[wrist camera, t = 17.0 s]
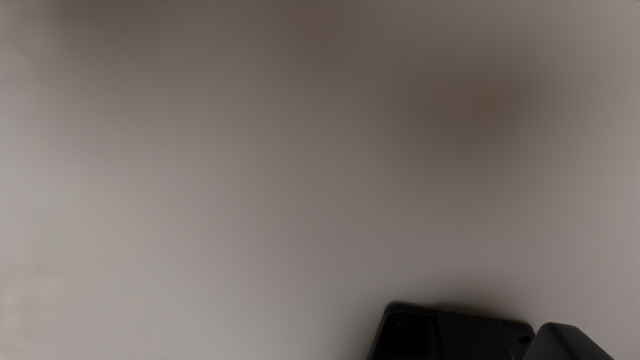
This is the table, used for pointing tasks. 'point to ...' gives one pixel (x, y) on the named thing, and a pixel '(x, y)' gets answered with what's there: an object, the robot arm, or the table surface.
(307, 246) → the table surface
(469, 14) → the table surface
